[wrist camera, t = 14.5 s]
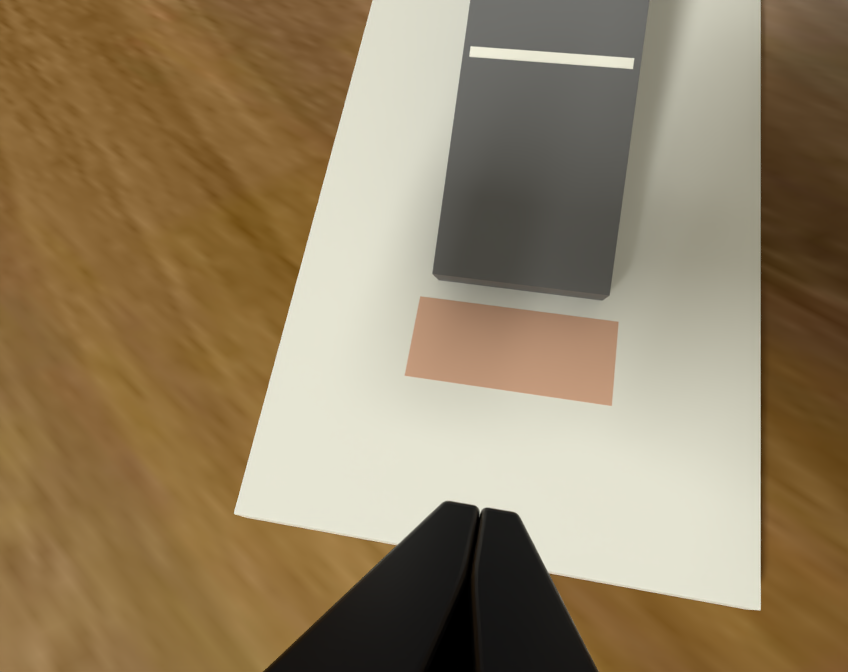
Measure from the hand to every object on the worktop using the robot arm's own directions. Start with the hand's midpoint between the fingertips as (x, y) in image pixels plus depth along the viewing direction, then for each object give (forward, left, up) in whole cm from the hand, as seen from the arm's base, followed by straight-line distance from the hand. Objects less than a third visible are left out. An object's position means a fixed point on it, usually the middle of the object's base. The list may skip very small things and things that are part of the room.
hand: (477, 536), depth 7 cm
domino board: (+14, -8, -12) cm, 20 cm away
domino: (+7, -4, -10) cm, 13 cm away
